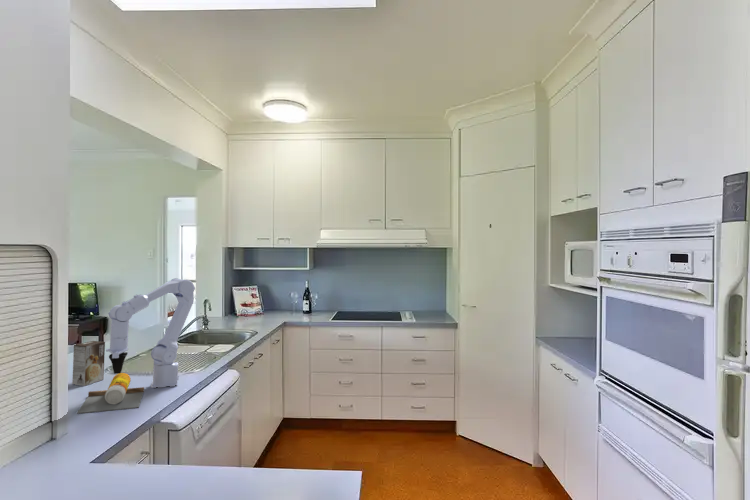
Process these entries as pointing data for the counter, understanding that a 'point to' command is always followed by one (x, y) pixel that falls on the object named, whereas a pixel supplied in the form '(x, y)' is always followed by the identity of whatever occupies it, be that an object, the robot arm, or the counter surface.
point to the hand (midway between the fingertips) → (117, 373)
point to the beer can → (117, 388)
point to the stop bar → (97, 393)
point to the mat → (102, 405)
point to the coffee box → (88, 363)
